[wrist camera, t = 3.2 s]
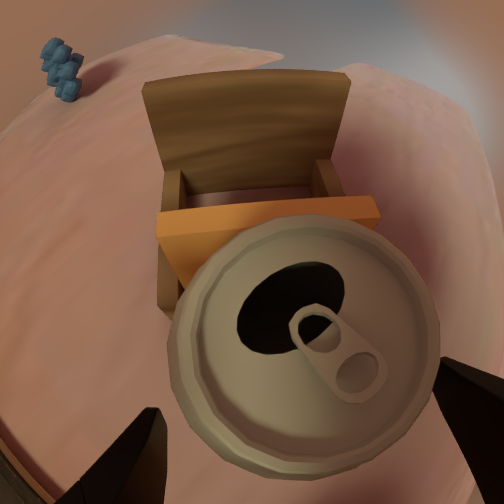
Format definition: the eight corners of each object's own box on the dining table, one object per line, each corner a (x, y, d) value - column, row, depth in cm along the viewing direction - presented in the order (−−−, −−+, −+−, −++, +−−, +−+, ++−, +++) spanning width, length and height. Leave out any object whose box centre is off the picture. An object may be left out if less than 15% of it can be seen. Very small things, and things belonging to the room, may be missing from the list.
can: (286, 292, 19) (332, 152, 8) (357, 379, 16) (499, 340, 5) (189, 357, 16) (92, 288, 6) (261, 453, 14) (285, 555, 3)
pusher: (334, 285, 18) (381, 217, 11) (191, 301, 18) (155, 237, 11) (330, 269, 19) (372, 195, 12) (191, 284, 18) (157, 212, 11)
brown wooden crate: (356, 298, 18) (433, 212, 9) (170, 319, 17) (101, 241, 9) (318, 174, 24) (344, 73, 15) (173, 186, 23) (145, 82, 14)
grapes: (111, 91, 32) (91, 22, 21) (73, 117, 29) (45, 46, 19) (80, 82, 35) (62, 27, 24) (48, 104, 32) (25, 49, 22)
